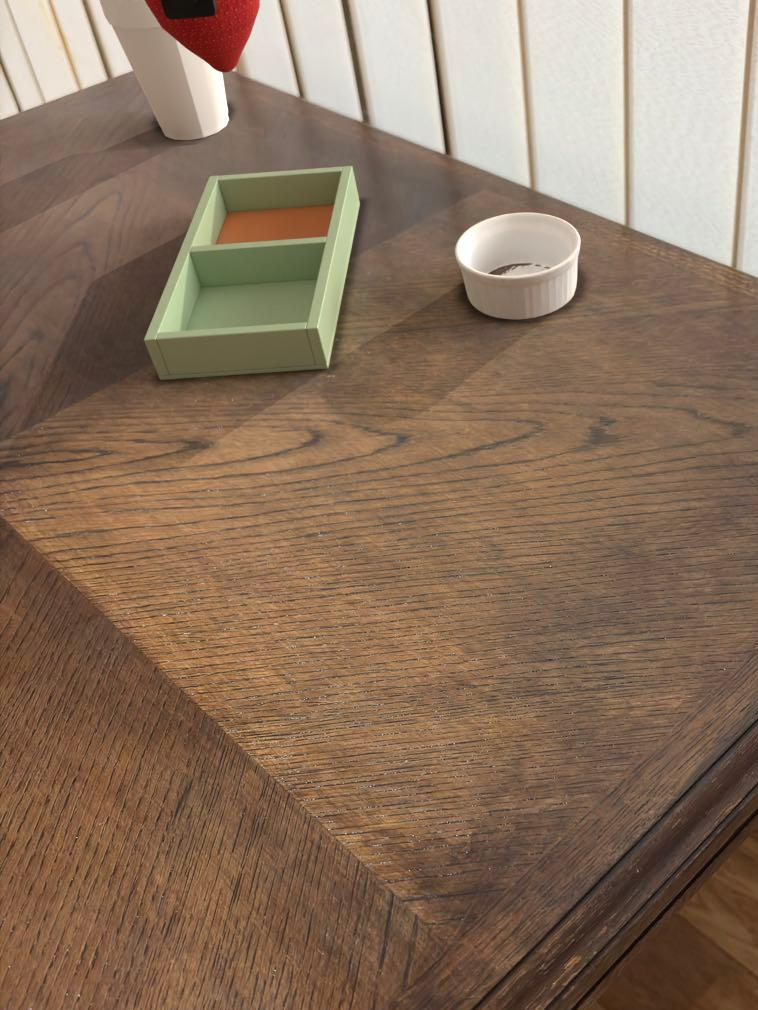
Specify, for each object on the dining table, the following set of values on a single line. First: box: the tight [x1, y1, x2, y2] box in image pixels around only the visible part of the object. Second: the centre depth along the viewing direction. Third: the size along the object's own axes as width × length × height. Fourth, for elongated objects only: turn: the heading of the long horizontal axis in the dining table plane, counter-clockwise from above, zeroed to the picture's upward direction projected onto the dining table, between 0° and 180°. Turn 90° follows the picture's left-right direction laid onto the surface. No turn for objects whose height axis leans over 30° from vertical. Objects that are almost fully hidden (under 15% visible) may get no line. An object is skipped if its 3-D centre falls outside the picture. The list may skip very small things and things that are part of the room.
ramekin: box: [454, 212, 582, 320], centre depth 76 cm, size 9×9×4 cm
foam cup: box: [99, 0, 230, 141], centre depth 97 cm, size 10×9×13 cm
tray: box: [143, 165, 361, 381], centre depth 79 cm, size 12×22×4 cm, turn 1°
